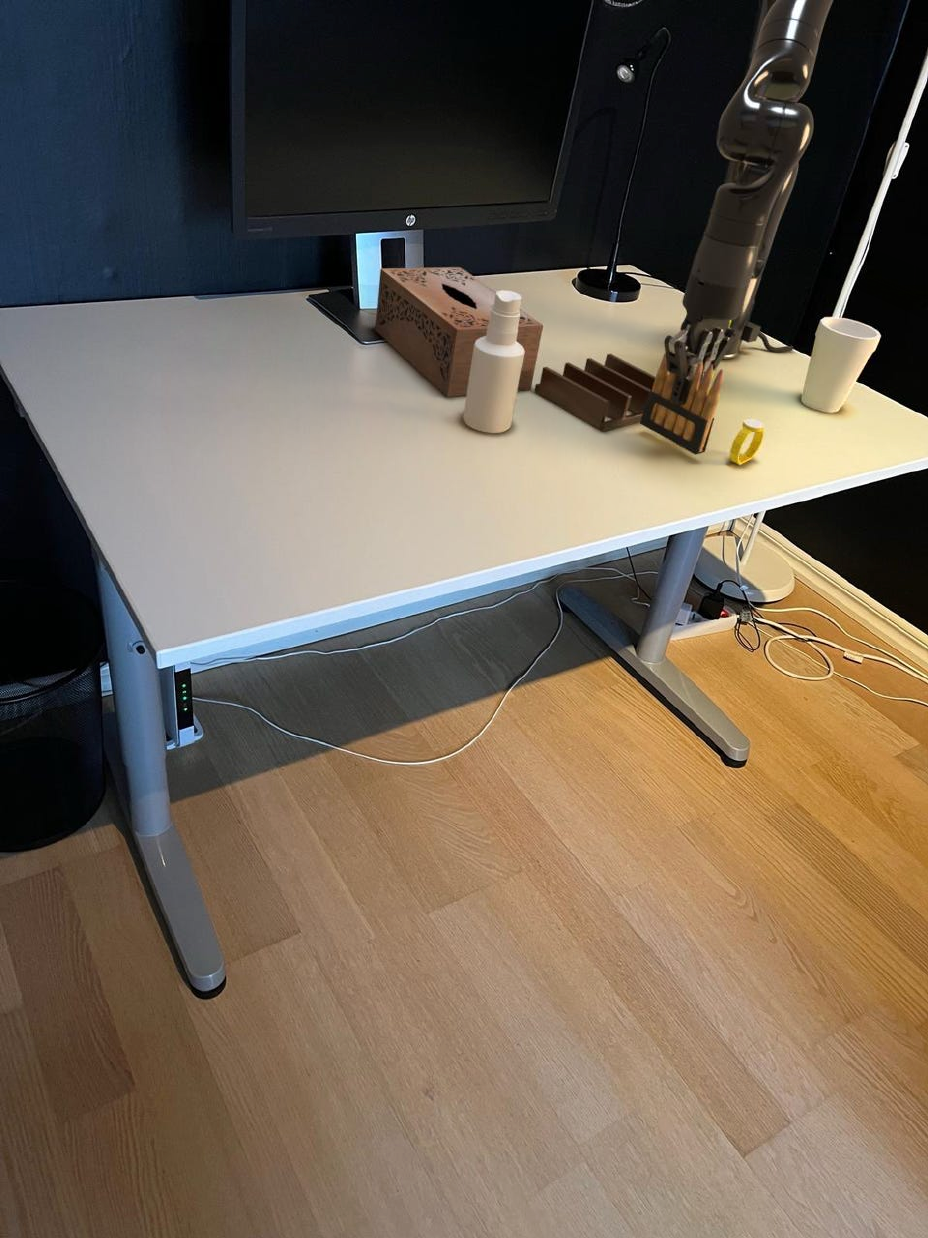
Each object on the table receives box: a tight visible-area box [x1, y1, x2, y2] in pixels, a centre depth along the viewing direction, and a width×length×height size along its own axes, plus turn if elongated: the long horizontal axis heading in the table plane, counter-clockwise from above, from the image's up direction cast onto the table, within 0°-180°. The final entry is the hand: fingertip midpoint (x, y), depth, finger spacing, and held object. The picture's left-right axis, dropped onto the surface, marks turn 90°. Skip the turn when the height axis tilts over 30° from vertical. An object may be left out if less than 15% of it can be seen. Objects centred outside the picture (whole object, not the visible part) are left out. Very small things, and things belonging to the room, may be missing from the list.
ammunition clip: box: [639, 352, 724, 455], centre depth 128 cm, size 11×2×12 cm, turn 40°
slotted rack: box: [533, 353, 656, 432], centre depth 141 cm, size 15×15×4 cm
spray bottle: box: [462, 289, 525, 434], centre depth 125 cm, size 7×7×18 cm
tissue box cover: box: [374, 266, 544, 398], centre depth 144 cm, size 26×14×10 cm, turn 29°
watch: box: [729, 418, 765, 466], centre depth 131 cm, size 6×3×6 cm, turn 133°
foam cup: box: [800, 316, 882, 414], centre depth 151 cm, size 10×9×13 cm
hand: (682, 400), depth 129 cm, fingers closed on ammunition clip, 1 cm apart
